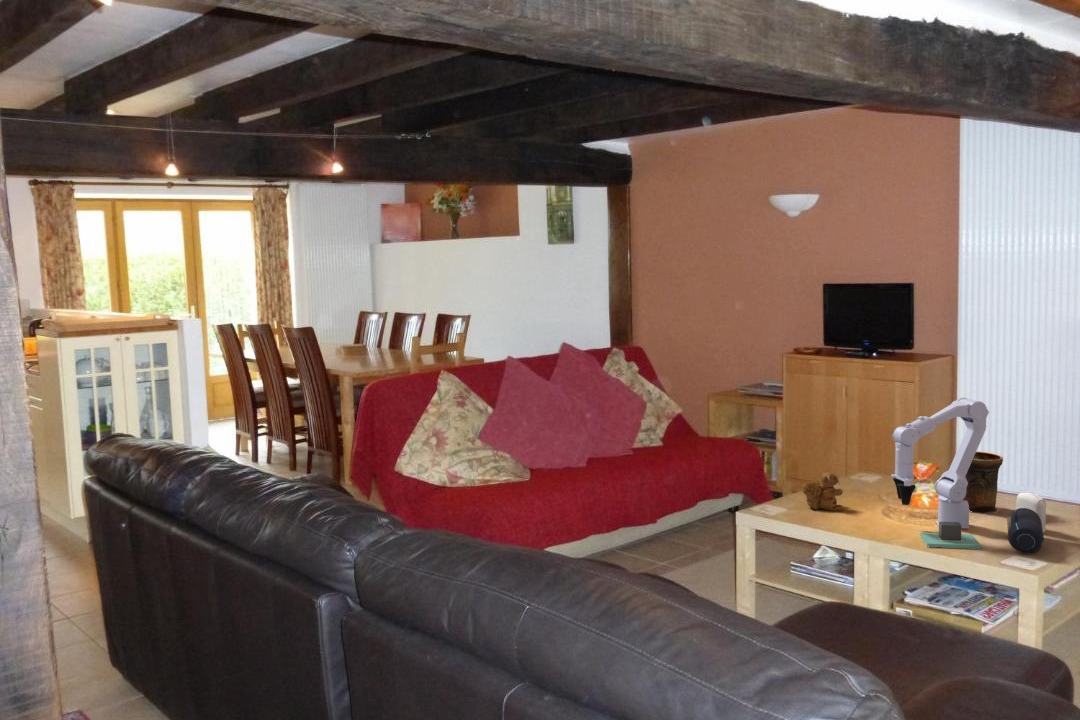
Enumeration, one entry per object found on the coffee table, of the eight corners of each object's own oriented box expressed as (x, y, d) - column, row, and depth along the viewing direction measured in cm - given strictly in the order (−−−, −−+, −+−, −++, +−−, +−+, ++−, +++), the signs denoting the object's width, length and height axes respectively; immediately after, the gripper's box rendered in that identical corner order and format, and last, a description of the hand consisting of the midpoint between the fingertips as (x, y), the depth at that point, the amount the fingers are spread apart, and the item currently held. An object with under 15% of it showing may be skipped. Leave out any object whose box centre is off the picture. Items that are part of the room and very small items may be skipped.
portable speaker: (1006, 532, 314) (1007, 503, 313) (1040, 536, 309) (1041, 506, 308) (1007, 555, 291) (1008, 523, 290) (1043, 559, 287) (1045, 527, 286)
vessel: (990, 502, 350) (992, 450, 348) (1008, 514, 336) (1010, 459, 333) (951, 503, 351) (952, 451, 348) (967, 515, 336) (969, 460, 334)
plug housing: (958, 537, 306) (958, 522, 305) (961, 540, 302) (961, 525, 302) (938, 536, 307) (938, 521, 307) (941, 540, 303) (941, 525, 303)
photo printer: (1013, 526, 321) (1014, 490, 320) (1024, 524, 322) (1025, 489, 321) (1036, 534, 311) (1037, 497, 310) (1047, 533, 312) (1048, 496, 311)
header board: (971, 537, 309) (972, 526, 309) (981, 549, 297) (981, 537, 297) (920, 536, 312) (920, 525, 312) (927, 547, 301) (927, 535, 300)
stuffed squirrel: (846, 510, 345) (846, 475, 343) (808, 512, 344) (808, 476, 343) (837, 503, 355) (837, 469, 353) (800, 504, 354) (800, 470, 353)
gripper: (888, 457, 326) (887, 496, 328) (895, 466, 312) (894, 507, 314) (910, 458, 325) (909, 496, 326) (918, 467, 311) (917, 507, 312)
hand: (903, 501), depth 320 cm, fingers open, 7 cm apart
